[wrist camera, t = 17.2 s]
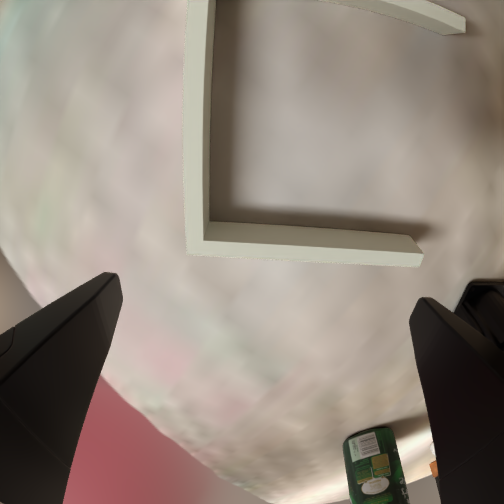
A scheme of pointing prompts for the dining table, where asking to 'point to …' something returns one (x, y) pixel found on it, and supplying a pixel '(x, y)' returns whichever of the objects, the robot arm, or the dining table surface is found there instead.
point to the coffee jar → (374, 468)
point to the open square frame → (265, 235)
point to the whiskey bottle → (435, 473)
